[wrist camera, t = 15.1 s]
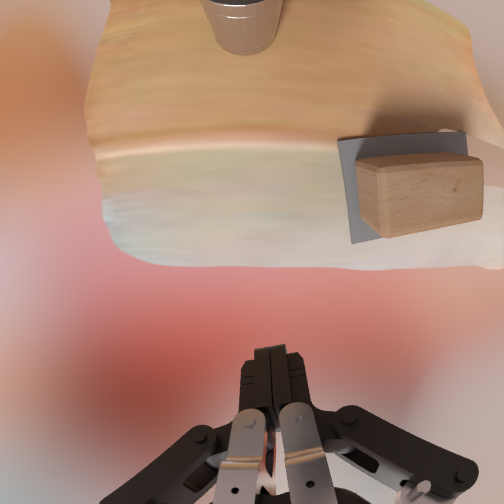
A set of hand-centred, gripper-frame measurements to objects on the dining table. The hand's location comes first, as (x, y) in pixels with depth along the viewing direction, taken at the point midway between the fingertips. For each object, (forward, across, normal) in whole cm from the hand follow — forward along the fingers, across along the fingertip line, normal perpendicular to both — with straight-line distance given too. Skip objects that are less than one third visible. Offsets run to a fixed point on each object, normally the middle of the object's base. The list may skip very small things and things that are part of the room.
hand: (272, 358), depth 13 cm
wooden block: (+26, -15, 0) cm, 30 cm away
